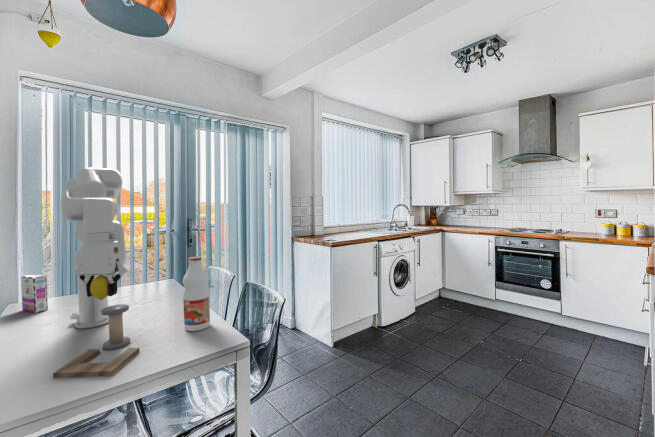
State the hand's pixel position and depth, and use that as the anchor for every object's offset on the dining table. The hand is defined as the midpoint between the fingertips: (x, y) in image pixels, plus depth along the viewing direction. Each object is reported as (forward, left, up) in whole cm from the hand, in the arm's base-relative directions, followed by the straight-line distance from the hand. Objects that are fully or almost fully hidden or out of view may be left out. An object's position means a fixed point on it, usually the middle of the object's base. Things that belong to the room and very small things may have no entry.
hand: (102, 294), depth 94 cm
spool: (-3, +10, -21) cm, 24 cm away
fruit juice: (+20, +23, -21) cm, 37 cm away
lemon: (0, 0, -2) cm, 2 cm away
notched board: (0, -3, -21) cm, 21 cm away
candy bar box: (-64, +49, -21) cm, 83 cm away
